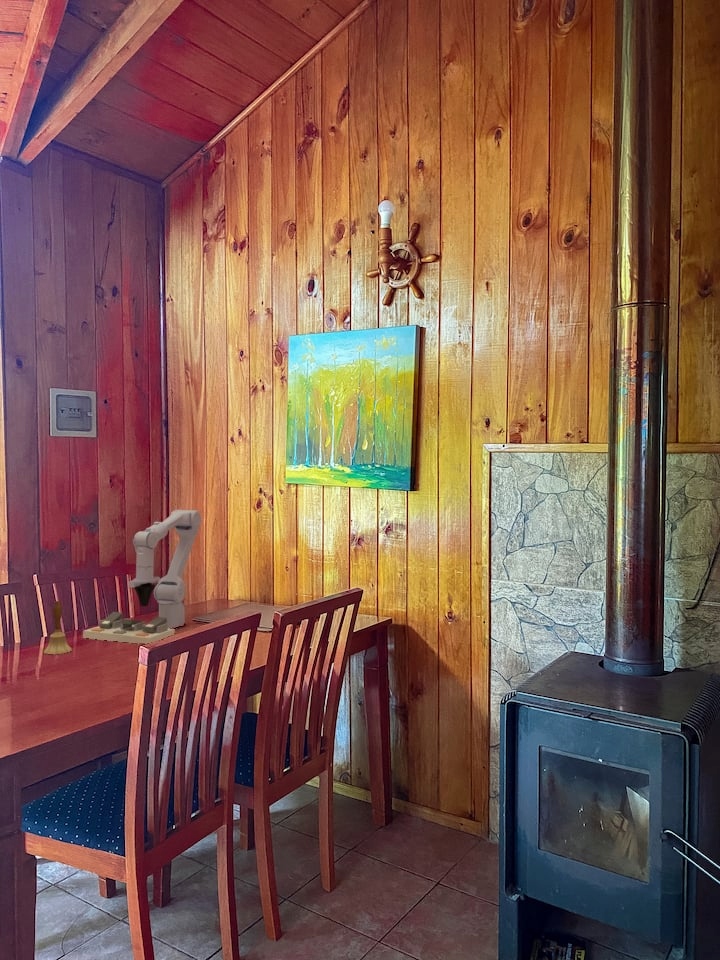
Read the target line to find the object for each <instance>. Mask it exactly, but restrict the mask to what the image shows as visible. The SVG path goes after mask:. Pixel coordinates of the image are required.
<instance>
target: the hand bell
mask: <svg viewBox="0 0 720 960" xmlns="http://www.w3.org/2000/svg"><path fill="white" fill-rule="evenodd" d="M62 610H63V609H62V605H61V602H60V601H59V600H55V601H54V605H53V607H52V615H53V616H52V617H53V619H54V632H53V633H52V634H50V636H49V641H48V645H47V646H46V647H45V649H43V654H45V655H48V654H53V655H52V656H57V655H56V654H60V655H64V653H65V654H68V653H67V652H69V653H71V652H72V651H73V649H72V647H71V646H70V645H69V643H68V642H67V638H66V633H65V632H62V630H61V629H62V628H61V618H62V613H63V611H62ZM70 651H71V652H70Z"/></svg>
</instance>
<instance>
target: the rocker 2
mask: <svg viewBox="0 0 720 960" xmlns="http://www.w3.org/2000/svg"><path fill="white" fill-rule="evenodd" d="M165 623H167V618H162V617H159V616H156V617H155V618H153V619H152V620H150V621H148V622H147V623H146V625H145V626H143V631H145V632H154V631H156V627H157V626H160V625H163V624H165Z"/></svg>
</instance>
